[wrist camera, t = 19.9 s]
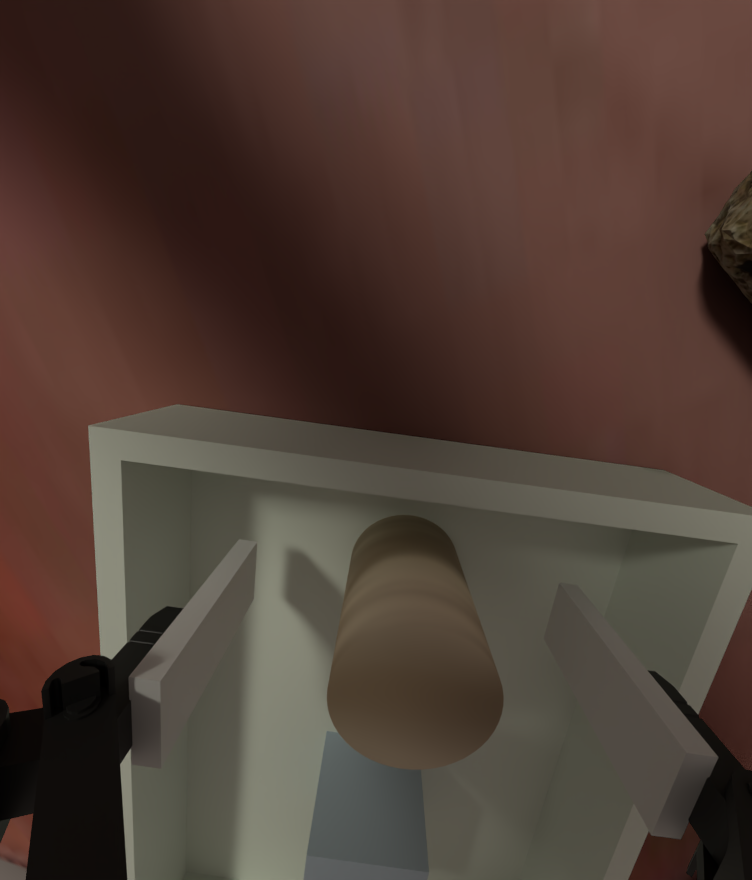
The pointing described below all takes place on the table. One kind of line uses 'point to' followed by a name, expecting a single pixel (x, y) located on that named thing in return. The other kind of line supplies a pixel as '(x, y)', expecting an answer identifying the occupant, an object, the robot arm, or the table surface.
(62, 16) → the table surface
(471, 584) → the tote
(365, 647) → the beech cylinder
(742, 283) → the coral
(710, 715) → the table surface
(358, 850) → the slate cube
